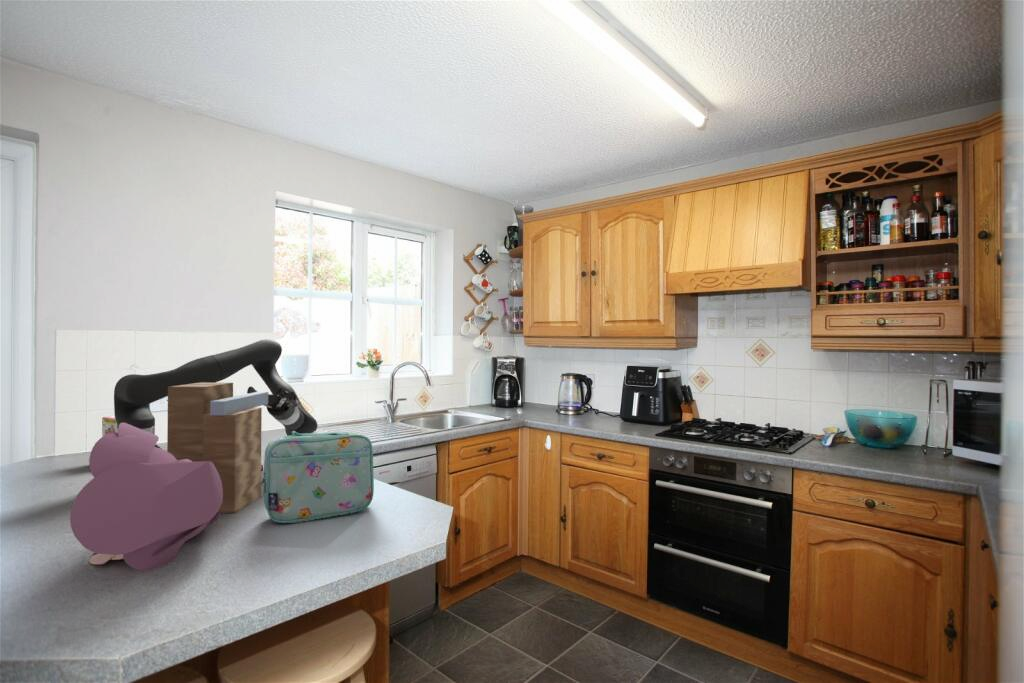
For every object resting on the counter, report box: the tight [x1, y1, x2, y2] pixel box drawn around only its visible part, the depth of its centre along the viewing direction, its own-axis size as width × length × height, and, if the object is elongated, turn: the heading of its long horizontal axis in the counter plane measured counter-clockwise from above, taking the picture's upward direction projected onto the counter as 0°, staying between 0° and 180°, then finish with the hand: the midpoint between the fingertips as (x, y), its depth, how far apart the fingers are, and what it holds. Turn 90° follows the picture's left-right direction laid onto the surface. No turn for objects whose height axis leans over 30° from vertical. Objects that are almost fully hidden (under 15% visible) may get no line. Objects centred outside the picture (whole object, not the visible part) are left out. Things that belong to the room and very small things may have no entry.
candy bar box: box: [101, 415, 117, 438], centre depth 179 cm, size 11×5×16 cm, turn 65°
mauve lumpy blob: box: [69, 423, 223, 572], centre depth 106 cm, size 36×24×29 cm
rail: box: [210, 391, 269, 415], centre depth 140 cm, size 24×4×4 cm, turn 1°
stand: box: [166, 382, 263, 514], centre depth 136 cm, size 14×17×32 cm
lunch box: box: [259, 431, 375, 524], centre depth 128 cm, size 27×10×21 cm, turn 117°
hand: (263, 389), depth 152 cm, fingers open, 8 cm apart
